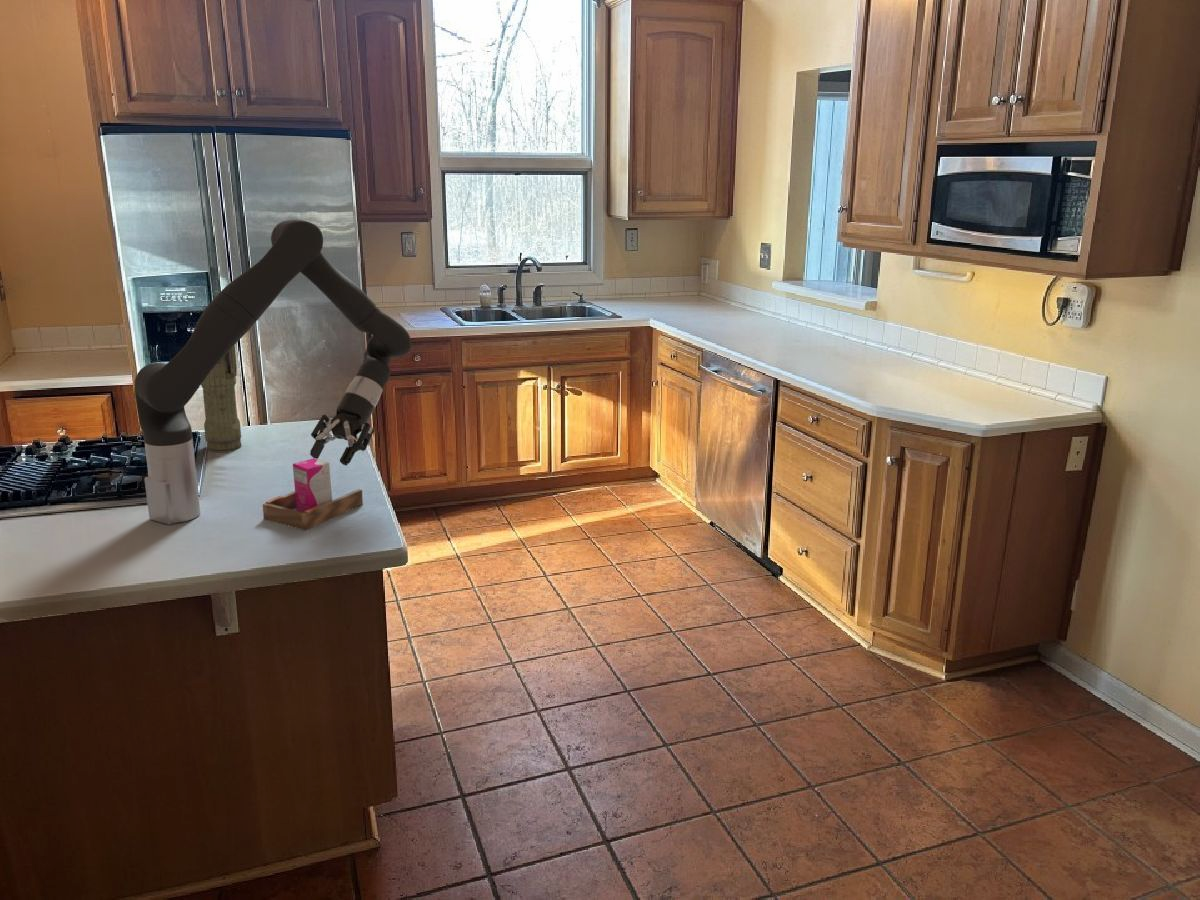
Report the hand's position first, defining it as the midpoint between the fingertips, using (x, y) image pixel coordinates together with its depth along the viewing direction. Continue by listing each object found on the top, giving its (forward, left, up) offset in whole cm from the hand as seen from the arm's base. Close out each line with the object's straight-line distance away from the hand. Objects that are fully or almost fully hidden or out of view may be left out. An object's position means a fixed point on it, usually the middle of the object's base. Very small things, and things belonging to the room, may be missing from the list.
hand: (328, 460), depth 201 cm
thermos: (+18, +53, -11) cm, 57 cm away
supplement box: (-5, 0, -11) cm, 12 cm away
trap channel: (-5, 0, -11) cm, 12 cm away
